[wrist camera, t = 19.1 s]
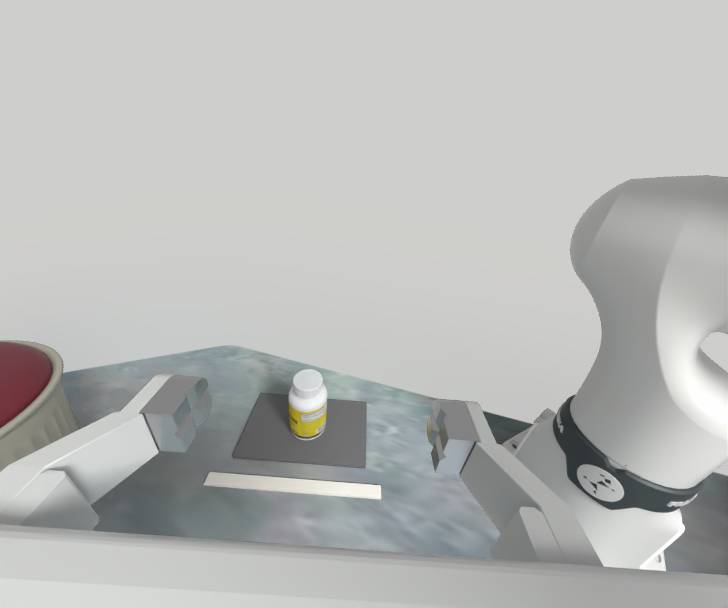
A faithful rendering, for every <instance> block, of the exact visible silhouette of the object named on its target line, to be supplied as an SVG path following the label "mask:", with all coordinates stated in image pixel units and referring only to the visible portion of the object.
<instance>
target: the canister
mask: <svg viewBox="0 0 728 608" xmlns="http://www.w3.org/2000/svg"><path fill="white" fill-rule="evenodd" d="M62 373H63V361H62V358H61V357H60V355H59V354H58V353H57V352H56V351H55V350H54V349H52V348H50V347H48V346H46V345H42V344H39V343H34V342H28V341H0V472H1V471H2V470H3V469H5V468H6V467H7V466H8V465H10V464H12V463H14V462H16V461H18V460H20V459H22V458H24V457H26V456H28V455H30V454H32V453H34V452H36V451H38V450H40V449H42V448H44V447H46V446H48V445H50V444H52V443H54V442H56V441H57V440H59V439H61V438H63V437H65V436H67V435H69V434H71V433H73V432H75V431H77V430H79V429H78V426H77V423H76V420H75V418H74V415H73V412H72V409H71V407H70V404H69V401H68V399H67V396H66V393H65V390H64V387H63V385H62V382H61V376H62Z"/></svg>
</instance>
